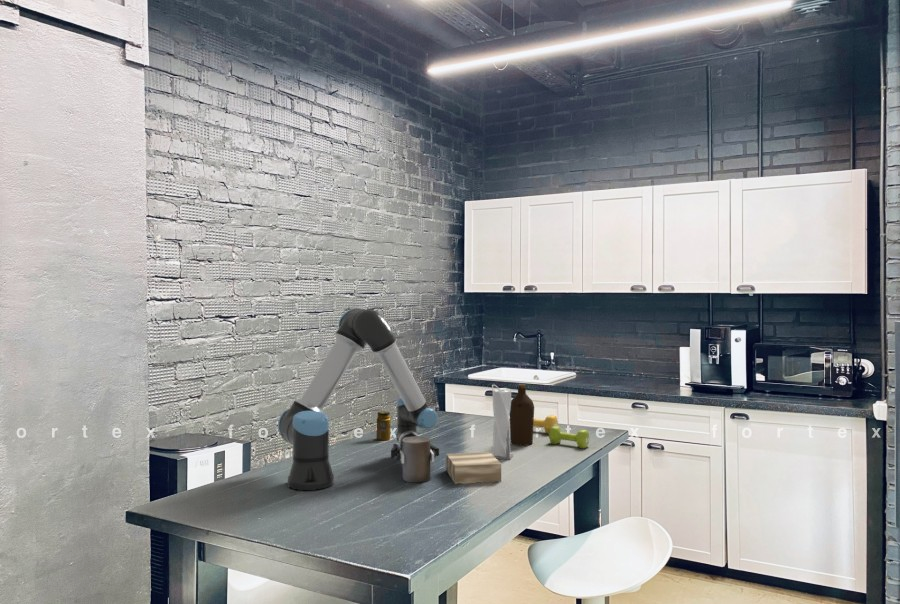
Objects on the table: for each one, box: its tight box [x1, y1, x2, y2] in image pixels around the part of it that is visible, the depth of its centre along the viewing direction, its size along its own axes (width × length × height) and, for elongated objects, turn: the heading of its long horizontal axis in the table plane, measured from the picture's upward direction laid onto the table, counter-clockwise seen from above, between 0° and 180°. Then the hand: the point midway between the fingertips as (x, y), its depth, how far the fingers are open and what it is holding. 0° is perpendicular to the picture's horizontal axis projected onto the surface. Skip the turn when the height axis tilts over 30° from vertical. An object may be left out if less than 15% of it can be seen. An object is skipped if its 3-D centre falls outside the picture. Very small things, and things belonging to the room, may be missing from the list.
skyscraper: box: [491, 383, 514, 460], centre depth 248 cm, size 8×8×28 cm
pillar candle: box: [402, 435, 432, 483], centre depth 218 cm, size 10×10×15 cm
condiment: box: [369, 410, 395, 444], centre depth 275 cm, size 7×8×12 cm
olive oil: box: [509, 383, 535, 446], centre depth 270 cm, size 11×11×25 cm
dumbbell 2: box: [548, 425, 590, 449], centre depth 267 cm, size 16×8×7 cm, turn 55°
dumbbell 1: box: [533, 414, 559, 435], centre depth 293 cm, size 19×9×8 cm, turn 56°
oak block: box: [445, 451, 502, 485], centre depth 222 cm, size 16×16×6 cm
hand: (418, 458), depth 214 cm, fingers closed on pillar candle, 9 cm apart
